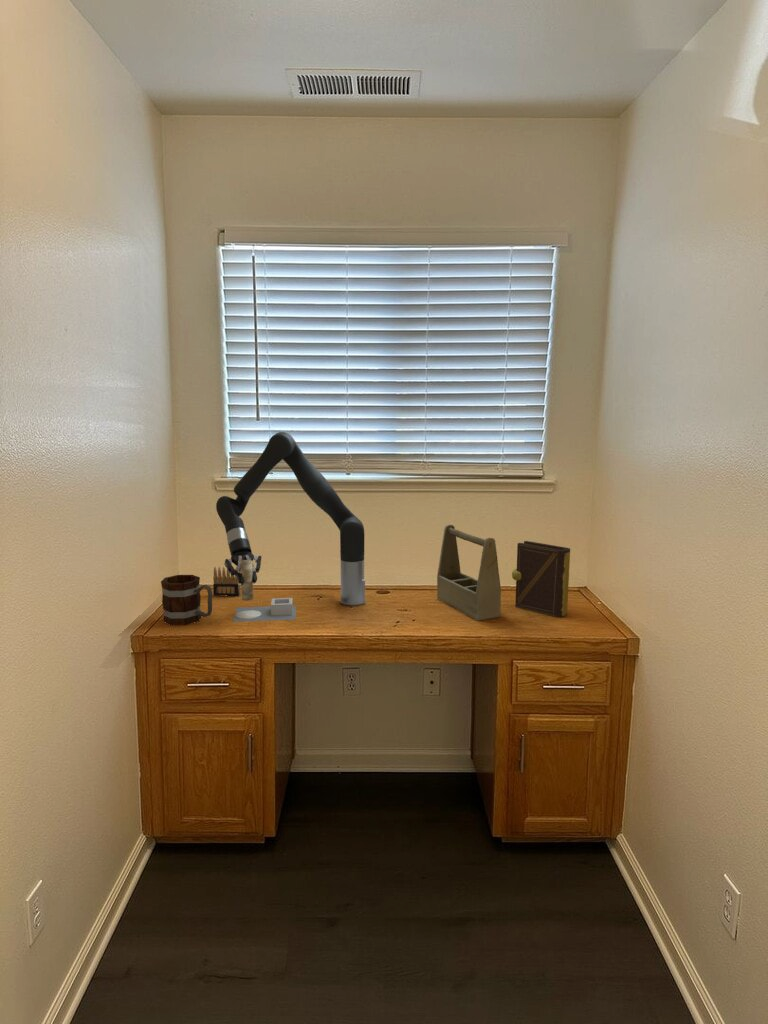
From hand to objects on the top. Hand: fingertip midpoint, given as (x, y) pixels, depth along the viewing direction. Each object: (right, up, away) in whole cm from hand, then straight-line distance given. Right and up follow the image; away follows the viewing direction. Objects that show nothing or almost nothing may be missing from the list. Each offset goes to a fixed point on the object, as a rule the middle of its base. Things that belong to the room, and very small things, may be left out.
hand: (248, 582), depth 235 cm
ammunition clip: (-15, -9, +32) cm, 37 cm away
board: (+5, -13, +6) cm, 15 cm away
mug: (-22, -14, +3) cm, 26 cm away
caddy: (+80, -12, +17) cm, 83 cm away
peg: (-1, -6, +3) cm, 7 cm away
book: (+107, -12, +14) cm, 108 cm away
